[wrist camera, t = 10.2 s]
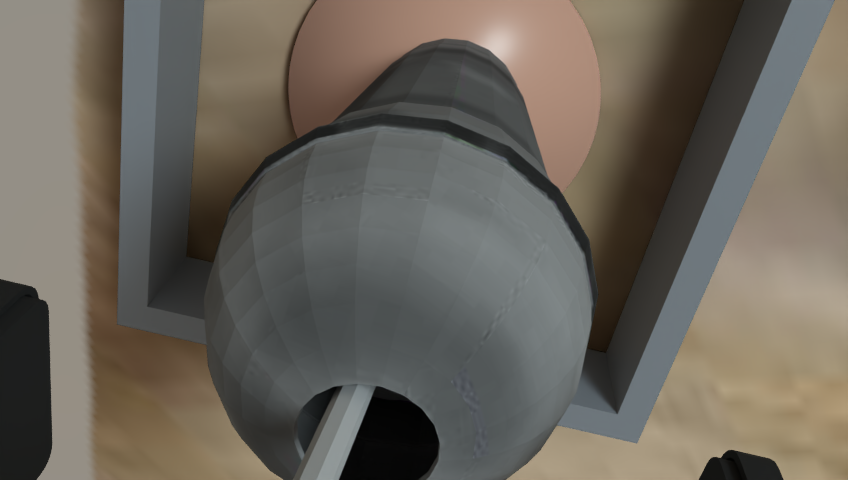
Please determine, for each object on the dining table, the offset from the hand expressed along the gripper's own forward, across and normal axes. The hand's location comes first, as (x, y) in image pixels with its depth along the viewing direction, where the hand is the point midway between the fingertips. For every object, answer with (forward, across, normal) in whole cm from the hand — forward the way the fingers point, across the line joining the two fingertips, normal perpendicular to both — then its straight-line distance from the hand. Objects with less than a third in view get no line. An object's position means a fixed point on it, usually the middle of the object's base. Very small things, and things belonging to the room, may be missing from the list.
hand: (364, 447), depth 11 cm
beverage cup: (+16, 0, 0) cm, 16 cm away
